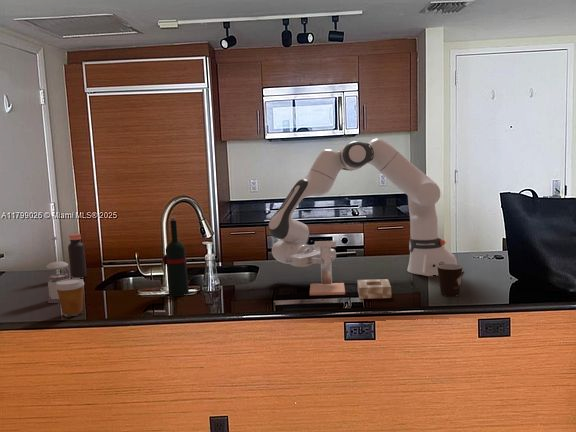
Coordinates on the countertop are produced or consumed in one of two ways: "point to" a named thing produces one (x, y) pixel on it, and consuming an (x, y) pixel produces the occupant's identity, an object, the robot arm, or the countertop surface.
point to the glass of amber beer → (70, 295)
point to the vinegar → (77, 256)
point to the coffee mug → (450, 279)
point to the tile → (327, 289)
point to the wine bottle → (176, 264)
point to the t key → (326, 260)
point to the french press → (56, 275)
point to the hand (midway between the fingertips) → (327, 260)
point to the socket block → (374, 288)
